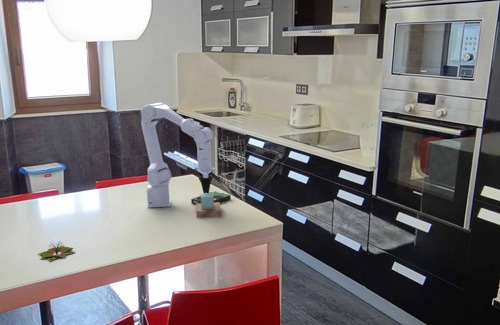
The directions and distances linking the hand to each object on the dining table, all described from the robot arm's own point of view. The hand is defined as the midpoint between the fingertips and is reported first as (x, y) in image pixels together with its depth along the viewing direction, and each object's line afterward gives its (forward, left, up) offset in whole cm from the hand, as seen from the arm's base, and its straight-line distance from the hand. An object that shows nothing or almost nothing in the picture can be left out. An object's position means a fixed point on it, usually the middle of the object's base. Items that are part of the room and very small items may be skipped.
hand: (205, 190), depth 188 cm
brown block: (+1, -1, -10) cm, 10 cm away
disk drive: (+3, +13, -10) cm, 16 cm away
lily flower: (-51, -32, -10) cm, 61 cm away
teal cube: (0, -1, -7) cm, 7 cm away
